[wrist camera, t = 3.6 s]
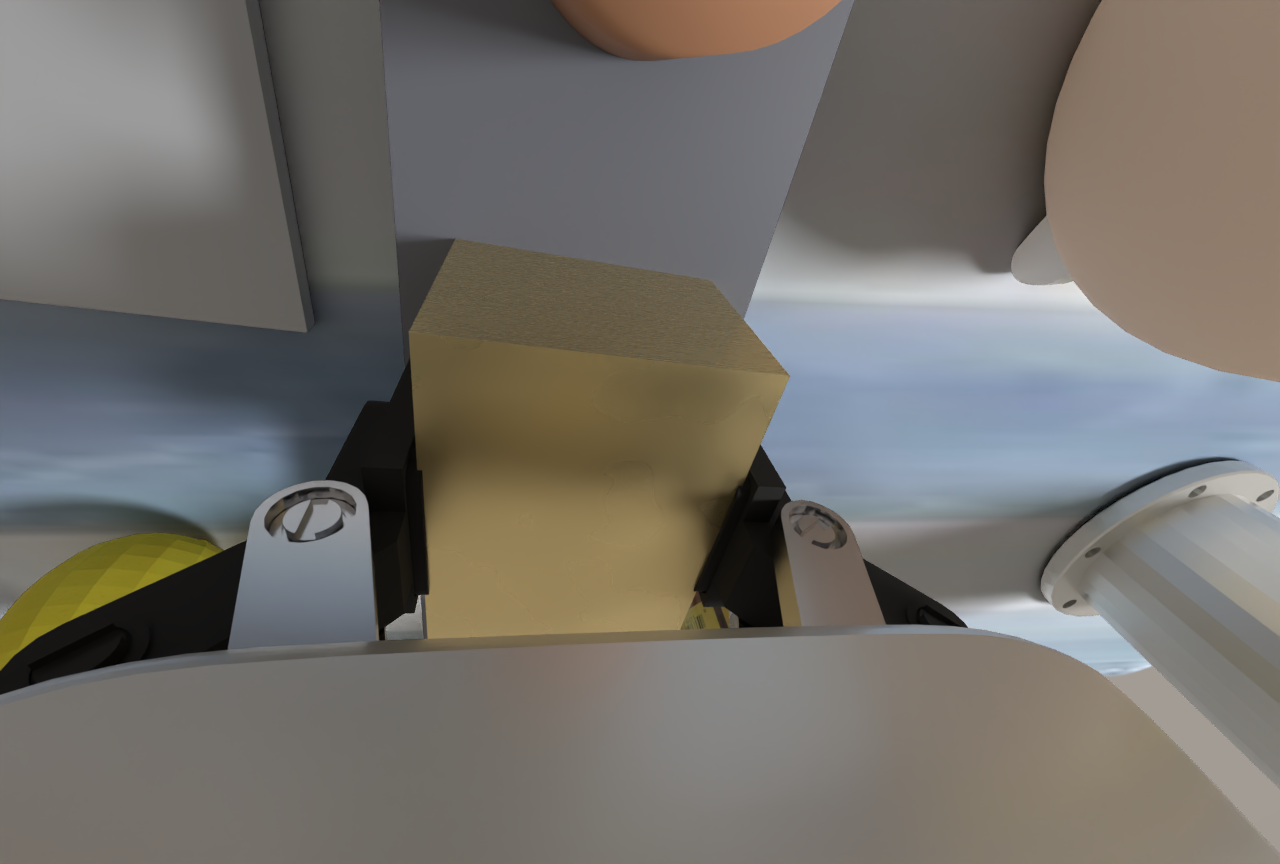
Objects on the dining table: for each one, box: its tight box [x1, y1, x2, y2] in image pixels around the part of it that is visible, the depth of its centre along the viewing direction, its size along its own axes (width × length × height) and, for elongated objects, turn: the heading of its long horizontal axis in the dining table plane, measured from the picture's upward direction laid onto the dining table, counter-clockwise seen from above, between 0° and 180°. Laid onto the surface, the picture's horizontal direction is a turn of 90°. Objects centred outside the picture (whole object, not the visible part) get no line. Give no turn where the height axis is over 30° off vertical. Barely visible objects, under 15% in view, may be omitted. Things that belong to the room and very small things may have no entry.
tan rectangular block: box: [409, 239, 790, 639], centre depth 10 cm, size 5×7×4 cm
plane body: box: [379, 0, 854, 639], centre depth 11 cm, size 7×20×10 cm, turn 168°
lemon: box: [0, 532, 224, 671], centre depth 14 cm, size 7×6×10 cm
